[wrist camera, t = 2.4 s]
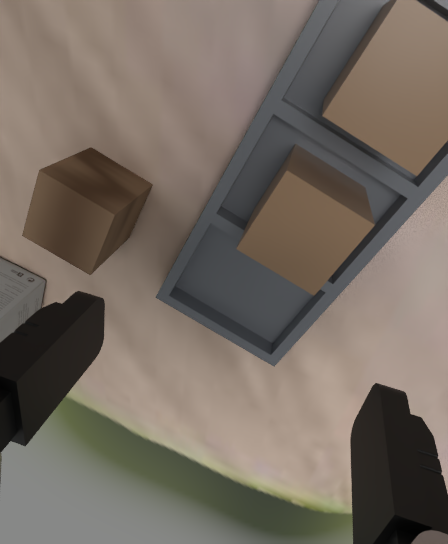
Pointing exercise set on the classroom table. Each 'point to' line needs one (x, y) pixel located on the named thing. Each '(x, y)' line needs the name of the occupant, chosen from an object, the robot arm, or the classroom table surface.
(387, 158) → the tray
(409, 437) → the robot arm
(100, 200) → the block
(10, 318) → the skincare box
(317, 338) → the classroom table surface
